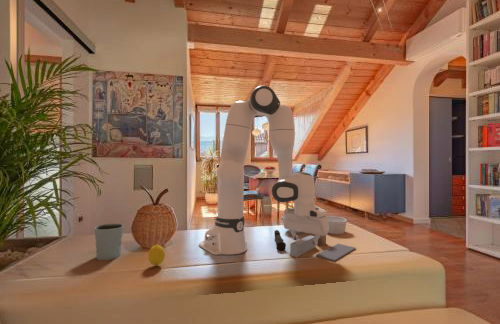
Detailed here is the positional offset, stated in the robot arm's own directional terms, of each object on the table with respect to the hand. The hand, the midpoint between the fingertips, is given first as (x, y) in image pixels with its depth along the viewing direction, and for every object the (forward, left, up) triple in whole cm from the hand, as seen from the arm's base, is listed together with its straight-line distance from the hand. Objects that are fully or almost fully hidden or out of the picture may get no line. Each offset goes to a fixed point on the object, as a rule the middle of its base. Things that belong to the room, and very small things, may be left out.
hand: (305, 242), depth 117 cm
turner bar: (0, -1, -4) cm, 4 cm away
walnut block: (0, +13, -4) cm, 14 cm away
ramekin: (-5, +37, -4) cm, 38 cm away
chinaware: (-20, +23, -4) cm, 31 cm away
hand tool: (-14, -1, -4) cm, 15 cm away
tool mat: (+11, +7, -4) cm, 13 cm away
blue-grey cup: (-53, -60, -4) cm, 80 cm away
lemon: (-30, -52, -4) cm, 60 cm away
